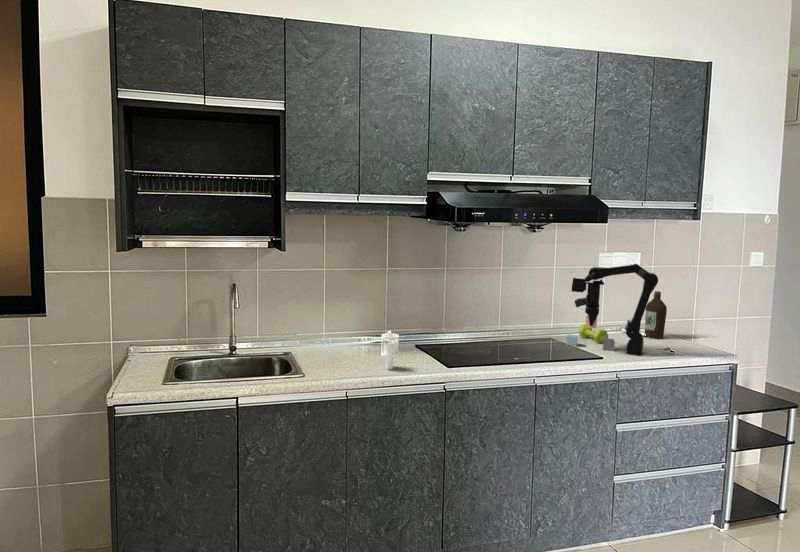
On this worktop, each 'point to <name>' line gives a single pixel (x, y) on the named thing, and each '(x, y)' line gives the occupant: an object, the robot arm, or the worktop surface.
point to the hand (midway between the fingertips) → (591, 324)
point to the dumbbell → (593, 334)
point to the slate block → (571, 340)
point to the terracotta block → (589, 323)
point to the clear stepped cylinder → (389, 348)
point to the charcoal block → (608, 344)
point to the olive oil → (655, 317)
